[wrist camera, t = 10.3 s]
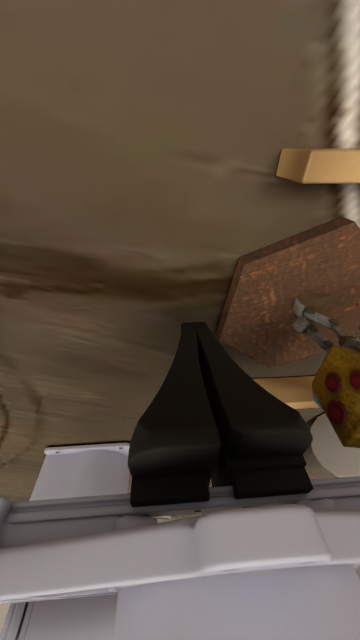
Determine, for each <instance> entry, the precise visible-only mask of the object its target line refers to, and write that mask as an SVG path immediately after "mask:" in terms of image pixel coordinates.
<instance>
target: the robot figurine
mask: <svg viewBox="0 0 360 640" xmlns="http://www.w3.org/2000/svg"><path fill="white" fill-rule="evenodd" d="M359 327H360V228H359V227H358V226H357V224H356V223H355V222H354V221H351V220H349V219H346V218H344V217H340V218H337V219H335V220H332V221H330V222H327V223H325V224H322V225H320V226H317V227H315V228H312V229H310V230H307V231H305V232H302V233H300V234H297V235H295V236H292V237H290V238H287V239H285V240H282V241H280V242H277V243H275V244H272V245H270V246H267V247H264V248H262V249H259V250H257V251H254V252H252V253H249V254H247V255H244V256H242V257H239V260H238V264H237V267H236V270H235V273H234V276H233V280H232V283H231V286H230V289H229V292H228V296H227V299H226V302H225V305H224V309H223V312H222V315H221V318H220V321H219V325H218V328H217V332H218V336H219V339H220V340H221V341H223V342H225V343H226V344H228V345H230V346H232V347H233V348H235V349H237V350H239V351H240V352H242V353H244V354H246V355H247V356H249V357H251V358H253V359H254V360H256V361H258V362H260V363H261V364H263V365H265V366H267V367H268V368H272V367H275V366H278V365H282V364H285V363H289V362H292V361H296V360H299V359H302V358H306V357H309V356H313V355H316V354H320V353H323V352H326V351H327V352H328V353H327V355H326V357H325V359H324V361H323V362H322V364H321V366H320V368H319V370H318V372H317V374H316V376H315V377H314V379H313V382H312V390H313V391H312V396H313V399H314V401H315V403H316V404H317V405H318V406H319V407H320V408H321V409H323V410H324V412H325V414H326V416H327V418H328V420H329V421H330V423H331V425H332V427H333V429H334V431H335V432H336V434H337V436H338V438H339V440H340V442H341V443H342V445H343V446H344V447H353V448H360V339H356V338H354V337H353V334H354V333H355V332H356V331H357V330H358V328H359Z"/></svg>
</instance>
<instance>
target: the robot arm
mask: <svg viewBox="0 0 360 640" xmlns="http://www.w3.org/2000/svg"><path fill="white" fill-rule="evenodd" d="M312 440H313V436H312V434H311V432H310V430H309V428H308V426H307V424H306V423H305V421H304V420H303V418H302V417H301V415H300V413H299V412H298V411H296V410H295V409H293V408H292V407H290V406H288V405H287V404H285V403H284V402H282V401H281V400H279V399H278V398H276V397H275V396H273V395H272V394H271V393H269V392H268V391H266V390H265V389H264V388H263V387H262V386H260V385H259V384H258V383H257V382H255V381H254V380H253V379H252V378H251V377H250V376H249V375H247V374H246V373H245V372H244V371H243V370H242V369H241V368H240V367H239V366H238V365H237V364H236V363H235V362H234V360H233V359H232V358H231V357H230V356H229V355H228V354H227V352H226V351H225V350H224V349H223V347H222V346H221V345H220V344H219V342H218V341H217V339H216V338H215V337H214V335H213V334H212V332H211V331H210V329H209V327H208V326H207V324H206V323H205V322H196V323H183V324H181V337H180V342H179V345H178V349H177V352H176V355H175V358H174V361H173V363H172V366H171V368H170V370H169V372H168V374H167V376H166V378H165V380H164V382H163V384H162V386H161V388H160V390H159V391H158V393H157V394H156V396H155V398H154V399H153V401H152V402H151V404H150V405H149V407H148V408H147V410H146V411H145V412H144V414H143V415H142V416H141V418H140V419H139V421H138V423H137V426H136V428H135V431H134V433H133V436H132V439H131V442H130V444H129V443H110V444H95V445H79V446H63V447H48V448H46V449H45V451H44V453H45V454H46V457H45V460H44V463H43V465H42V468H41V471H40V473H39V476H38V479H37V482H36V484H35V487H34V490H33V492H32V495H31V498H30V500H29V501H22V502H12V501H11V500H10V499H9V498H7V497H3V496H0V604H8V603H10V606H9V609H8V612H7V615H6V618H5V622H4V624H3V627H2V630H1V634H0V640H360V580H359V578H358V576H357V573H356V571H355V570H360V476H354V477H340V478H327V479H314V480H310V479H309V477H308V474H307V472H306V470H305V467H304V466H306V462H305V459H304V457H303V455H302V454H303V453H304V452H305V451H306V449H307V448H308V447H309V446H310V444H311V443H312ZM130 473H131V476H132V485H131V493H128V484H129V474H130ZM210 479H211V480H212V487H209V483H210ZM199 513H206V514H203V515H201V516H198V517H192V518H186V519H180V520H174V521H167V522H161V523H157V519H156V518H152V517H163V516H175V515H187V514H199Z"/></svg>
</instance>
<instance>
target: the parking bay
mask: <svg viewBox="0 0 360 640" xmlns="http://www.w3.org/2000/svg"><path fill="white" fill-rule="evenodd" d="M276 176H278V177H281V178H285V179H288V180H292V181H295V182H299V183H302V184H353V183H360V148H284V149H282V151H281V155H280V160H279V164H278V168H277V173H276ZM314 377H315V376H301V377H281V378H261V379H253V380H254V381H255V382H257V383H258V384H259V385H260V386H262V387H263V388H264V389H265V390H266V391H268V392H269V393H271V394H272V395H273V396H275V397H276V398H278V399H279V400H281V401H282V402H284V403H285V404H287V405H288V406H290V407H292V408H293V409H299V408H317V407H319V406H318V405H317V404H316V403H315V401H314V399H313V396H312V391H313V390H312V382H313V379H314Z"/></svg>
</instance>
